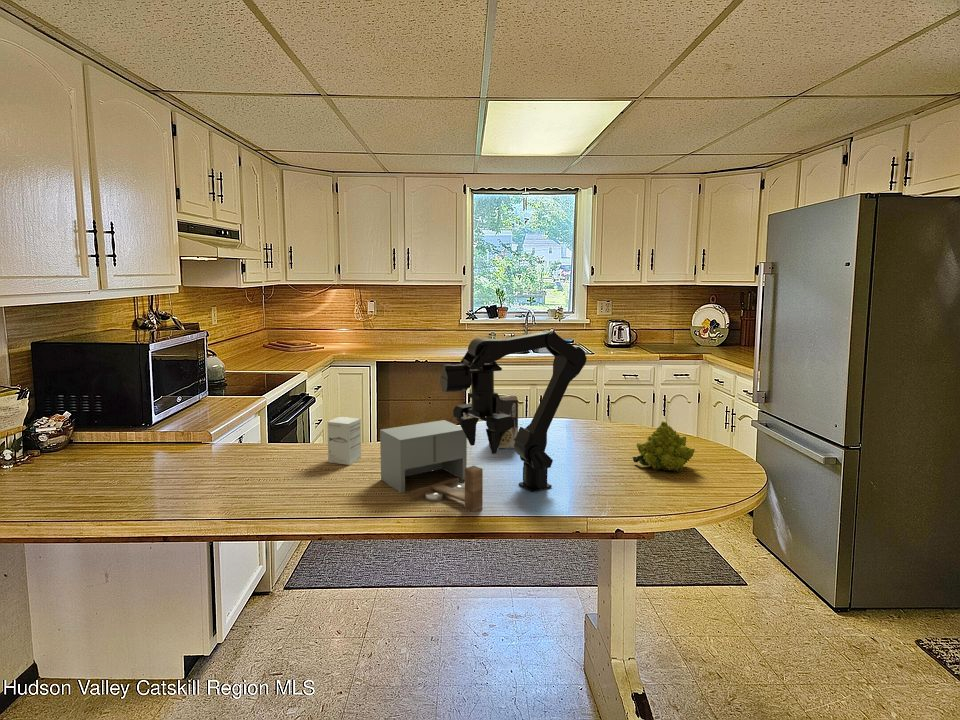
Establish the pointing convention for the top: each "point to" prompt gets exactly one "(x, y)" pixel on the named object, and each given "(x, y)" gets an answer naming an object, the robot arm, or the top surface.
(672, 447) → the vegetable
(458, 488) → the disc right
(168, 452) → the top surface
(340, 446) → the supplement box
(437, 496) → the disc left
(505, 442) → the coffee box
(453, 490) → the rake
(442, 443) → the cabinet
